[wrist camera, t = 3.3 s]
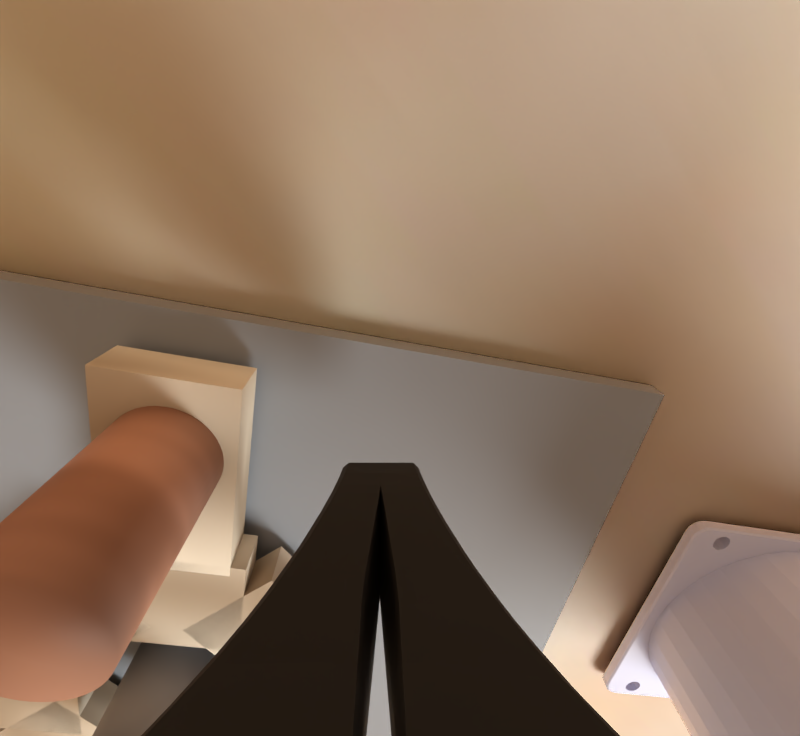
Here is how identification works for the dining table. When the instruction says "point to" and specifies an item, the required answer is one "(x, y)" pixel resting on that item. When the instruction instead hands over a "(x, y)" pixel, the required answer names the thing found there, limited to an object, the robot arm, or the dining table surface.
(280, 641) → the robot arm
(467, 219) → the dining table surface
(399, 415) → the post board
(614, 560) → the dining table surface
